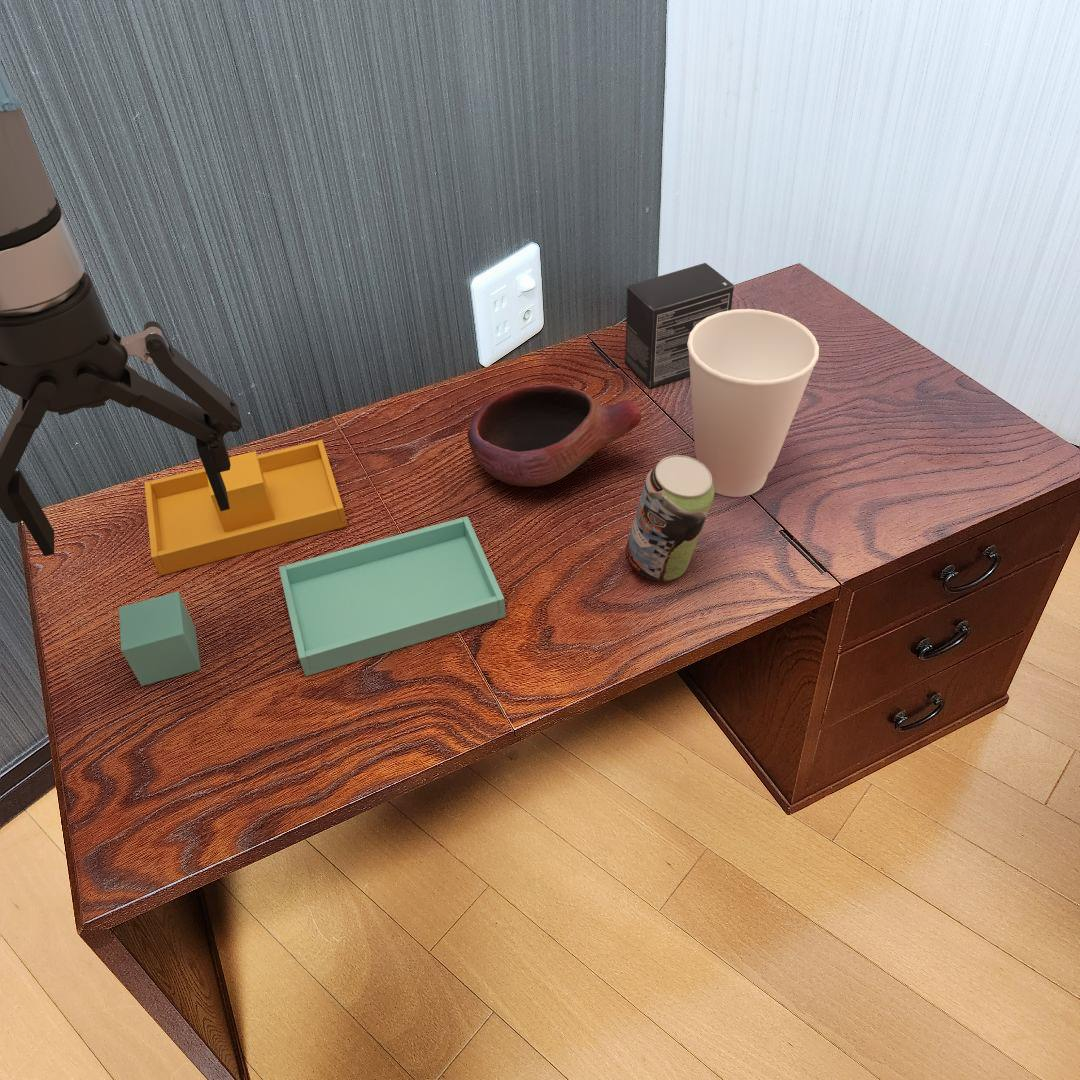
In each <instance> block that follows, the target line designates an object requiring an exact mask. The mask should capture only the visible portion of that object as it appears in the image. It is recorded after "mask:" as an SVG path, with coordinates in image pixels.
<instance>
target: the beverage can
mask: <svg viewBox="0 0 1080 1080" xmlns="http://www.w3.org/2000/svg"><path fill="white" fill-rule="evenodd" d="M714 498H715V492H714V486H713V483H712V476H711V473H710V472H709V470H708V469H707V467H706V466H705V465H703V464H702V463H701V462H699V461H698V460H697V459H696V458H693V457H690V456H687V455H678V454H675V455H670V456H669V455H668V456H666V457H664V458H662V459H661V460H660V461H658V463H657V464H656V465H654V466H653V467H652V468H651V469H650V470H649V471H648V473H647V475H646V477H645V481H644V483H643V487H642V491H641V494H640V497H639V501H638V505H637V508H636V512H635V515H634V517H633V521H632V526H631V529H630V532H629V536H628V539H627V543H626V546H625V556H626V560H627V562H628V564H629V565H630V566H631V568H632V569H633V570H634V571H635V572H636V573H638V574H639V575H640V576H642V577H644V578H647V579H649V580H654V581H660V582H666V581H667V582H668V581H672V580H675V579H678V578H679V577H681V576H682V575H683V574H685V572H687V569H688V568H689V565H690V562H691V560H692V557H693V554H694V552H695V549H696V546H697V543H698V540H699V538H700V536H701V533H702V530H703V528H704V526H705V522H706V519H707V517H708V515H709V512H710V509H711V507H712V504H713V501H714Z"/></svg>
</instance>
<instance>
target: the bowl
mask: <svg viewBox="0 0 1080 1080" xmlns="http://www.w3.org/2000/svg"><path fill="white" fill-rule="evenodd" d="M641 412H642V411H641V408H640V407H639V406H638V404H637V403H636V402H635V401H634V400H631V399H623V400H620V401H618V402H616V403H614V404H608V405H607V404H599V403H598V402H597V401H596V400H594V398H593V397H592V396H591V395H589V394H588V393H587V392H586V391H584V390H580V389H578V388H576V387H573V386H568V385H564V384H558V383H557V384H555V383H545V384H535V385H523V386H518V387H514V388H510V389H508V390H506V391H505V390H504V391H503V392H501V393H499V394H496V395H494V396H492V397H491V398H490V399H488V400H487V401H486V402H485V403H483V405H482V407H481V408H480V409H479V410H478V411H477V412H476V413H475V414H474V415H473V416H472V417H471V419H470V424H469V428H468V430H467V432H466V435H467V440H468V443H469V446H470V447H469V448H470V450H471V451H472V455H473V456H474V458H475V460H476V461H477V462H478V464H479V466H480V467H481V468H482V469H483V470H484V471H485V472H486V473H487V474H489V475H490V476H492V477H493V478H495V479H496V480H498V481H500V482H502V483H505V484H508V485H512V486H516V487H542V486H546V485H550V484H553V483H555V482H557V481H560V480H561V479H563V478H565V477H567V476H568V475H569V474H571V473H573V471H575V470H576V469H577V468H579V467H580V466H581V465H583V464H584V463H585V462H586V461H587V460H589V459H590V458H591V457H592V456H593V455H595V454H596V453H597V452H598V451H600V450H602V448H605V446H607V445H609V444H611V443H614V442H615V441H616V440H618V439H620V438H622V437H623V436H625V435H627V434H628V433H630V432H632V431H633V430H634V429H635V428H636V427H637V426H638V425H639V424H640V422H641V421H642V413H641Z"/></svg>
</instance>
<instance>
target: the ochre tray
mask: <svg viewBox="0 0 1080 1080" xmlns="http://www.w3.org/2000/svg"><path fill="white" fill-rule="evenodd" d="M257 457H258V460H259V463H260V466H261V469H262V472H263V475H264V478H265V481H266V484H267V487H268V491H269V495H270V499H271V503H272V507H273V511H274V515H275V519H273V520H269V521H265V522H262V523H258V524H254V525H250V526H246V527H243V528H239V529H235V530H231V531H228V532H224V529H223V527H222V524H221V521H220V519H219V516H218V514H217V511H216V509H215V506H214V503H213V501H212V498H211V496H210V490H209V485H208V479H207V474H206V471H205V469H204V467H202V468H198V469H195V470H194V469H193V470H191V471H187V472H181V473H178V474H173V475H170V476H164V477H161V478H157V479H152V480H150V481H149V480H148V481H145V482H143V483H144V494H145V495H144V496H145V504H146V517H147V527H148V536H149V537H148V538H149V547H150V549H149V550H150V558H151V560H152V563H153V564H154V566H155V568H156V570H157V572H158V574H159V576H164V575H169V574H172V573H176V572H180V571H183V570H187V569H191V568H195V567H199V566H202V565H206V564H207V565H208V564H210V563H214V562H219V561H221V560H225V559H229V558H232V557H237V556H241V555H244V554H248V553H252V552H256V551H259V550H263V549H266V548H270V547H274V546H279V545H282V544H286V543H289V542H293V541H298V540H300V539H304V538H308V537H311V536H317V535H320V534H323V533H327V532H330V531H334V530H338V529H343V528H346V527H348V525H349V524H348V521H347V520H348V519H347V516H346V512H345V508H344V505H343V502H342V498H341V495H340V493H339V488H338V486H337V483H336V480H335V476H334V473H333V469H332V466H331V463H330V459H329V457H328V453H327V451H326V447H325V444H324V441H323V439H318V440H314V441H310V442H305V443H301V444H297V445H294V446H293V445H292V446H290V447H285V448H280V449H277V450H276V449H275V450H272V451H268V452H265V453H261V454H257Z"/></svg>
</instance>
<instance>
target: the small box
mask: <svg viewBox="0 0 1080 1080" xmlns="http://www.w3.org/2000/svg"><path fill="white" fill-rule="evenodd" d="M734 290H735V284H734V283H732V282H731V281H729V280H728V279H727V278H726V277H725V276H723V275H722V274H721V273H720V272H718V271H717V270H716V269H714V268H713V267H712V266H710V264H708V263H706V262H703V263H700V264H696V265H693V266H690V267H686V268H683V269H679V270H676V271H673V272H668V273H666V274H662V275H658V276H655V277H652V278H649V279H645V280H641V281H638V282H635V283H631V284H628V285H627V286H626V321H625V323H626V326H625V349H624V350H625V351H624V352H625V354H624V363H625V364H626V366H628V367H629V369H630V370H631V371H632V372H633V373H634V374H635V375H636V376H637V377H638V378H639V379H640V380H641V381H642V382H643V384H644V385H645V386H646V387H647V388H649V389H653V388H656V387H659V386H662V385H665V384H666V385H667V384H668V383H671V382H674V381H677V380H680V379H681V380H682V379H684V378H687V377H690V363H689V350H688V346H687V343H688V338H689V334H690V332H691V331H692V330H693V328H694V327H695V326H696V324H698V323H699V322H701V321H702V320H704V319H705V318H706V317H709V316H711V315H714V314H717V313H719V312H724V311H729V310H732V305H733V297H734Z"/></svg>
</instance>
